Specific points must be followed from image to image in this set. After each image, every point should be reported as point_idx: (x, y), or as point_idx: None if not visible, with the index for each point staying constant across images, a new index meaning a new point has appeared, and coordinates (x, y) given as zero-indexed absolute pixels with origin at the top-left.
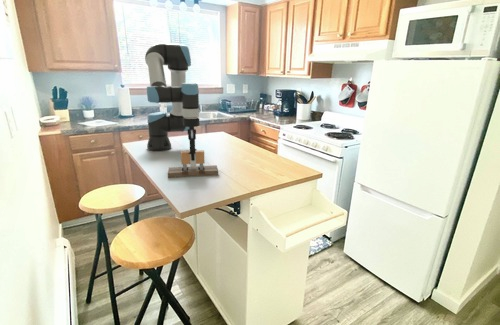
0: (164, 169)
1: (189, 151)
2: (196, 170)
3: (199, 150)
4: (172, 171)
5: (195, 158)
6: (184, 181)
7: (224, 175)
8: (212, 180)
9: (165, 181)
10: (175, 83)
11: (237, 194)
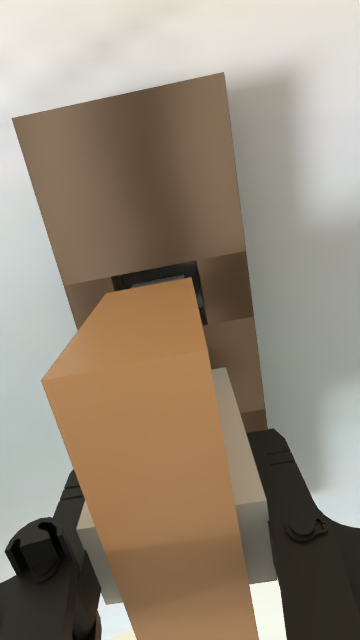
0: None
1: (194, 618)
2: (222, 343)
3: (90, 471)
4: None
5: (245, 433)
6: (341, 393)
7: (206, 8)
8: (349, 152)
9: (325, 505)
10: None
11: None
